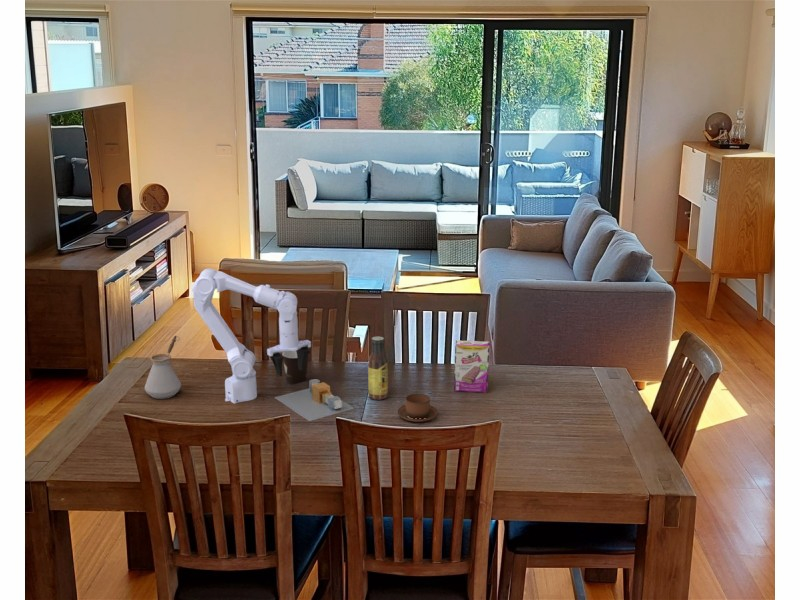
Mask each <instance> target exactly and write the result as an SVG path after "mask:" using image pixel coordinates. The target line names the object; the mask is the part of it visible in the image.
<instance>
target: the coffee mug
mask: <svg viewBox="0 0 800 600" xmlns="http://www.w3.org/2000/svg"><path fill="white" fill-rule="evenodd" d="M281 354H282V355H281V356H282V357H283V361H282V362H283V366H284V367H283V368H284V372H285V379H286V383H287V384H288V385H296V384H301V383H305V382H306V381H307V377H308V376H307V375H308V365H309V363H308V362H309V355H308V356H307V359H306V361H305V365H304V369H303V371H300V370H299V369H298V358H297V352H296V351H288V352H284V353H281Z"/></svg>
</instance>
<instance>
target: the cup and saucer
mask: <svg viewBox="0 0 800 600" xmlns="http://www.w3.org/2000/svg"><path fill="white" fill-rule="evenodd" d="M430 398H431V397H430V396H429V395H427V394H424V393H410V394H408V395H407V396H406V397H405V404H404V405H402V406H400V407H399V408H398V410H397V413H398V416H399V417H400V418H401V419H403V420H406V421H409V422H415V423H417V422H418V423H422V422H427V421H430V420H432V419H434V418H435V417H436V416H437V415H438V409H437V408H436V407H434V406H433V405H432V404H430V402H431V400H430ZM407 416H409V417H410V418H413V419H409V418H408V417H407ZM415 418H417V419H415ZM419 418H421V419H419ZM424 418H426V419H424Z"/></svg>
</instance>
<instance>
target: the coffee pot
mask: <svg viewBox="0 0 800 600" xmlns="http://www.w3.org/2000/svg"><path fill="white" fill-rule="evenodd" d="M172 338H173V339H172V340H171V343H170V344H169V347H168V350H167V352H166V353H158V354H153V355H151V356H150V357H149V360H150V361H151V362H152V365H151V368H150V371H149V373H148V376H147V380H146V382H145V385H144V391H145V392H146V394H147V395H149V396H151V397H152V398H153V399H156V400H157V399H158V400H165V399H170V398H172V397H175V395H176V394H177V393H178V392H179V391H180V390H181V388H182V383H181V381H180V378H179V377H178V375H177V374H176V372H175V370H174V368H173V366H172V365H171V363H170V361H171V360H172V356H171V355H170V353H171V352H172V350H173V348H174V346H175V343H176V341H178V340H180V339H181V338H180V337H179V336H177V335H174V336H173V337H172ZM177 338H178V339H177Z"/></svg>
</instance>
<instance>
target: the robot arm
mask: <svg viewBox="0 0 800 600" xmlns="http://www.w3.org/2000/svg"><path fill="white" fill-rule="evenodd" d="M215 290H216V293H221V292H223V291H226V290H229V291H232V292H236V293H238V294H242V295H245V296H248V297H251V298H253V300H254V302H255V303H257V304H260V305H263V306H265V307H268V308H271V309H274V310H277V311H278V313H279V316H278V327H279V328H278V331H279V333H278V335H279V344H277V345H275V346H274V345H273V346H272V347H269V348H267V349H266V353H267V356H268V357H269V358H270V360H271V361H272V363H273V366H274V368H275V371H276V375H277V376H278V377H282V376H283V362H284V361H283V356H282V355H281V354H283V353H284V352H288V351H296V352H297V358H298V369H299V370H300V371H303V369H304V365H305V361H306V359H307V356H308V357H309V355H310V353H311V350H310V348H311V347H312V341H310V340H309V339H305V340H299V328H298V311H297V306H298V297H297V296H296V295H295V294H294V293H292V292H291V291H285V290H281V291H280V290H277V289H276V288H275V289H274V288H273V287H271V285H270V284H267V283H266V284H265V285H264V284H260V285H259V286H255V285H253V284H250V283H248V282H247V281H244V280H241V279H239V278H236V277H235V276H232V275H229V274H227V273H225V272H224V271H220V270H216V269H213V268H210V267H209V268H205V269H203V270H202V271H201V272H200V274H199V276H198V277H197V278H196V280H195V282H194V284H193V286H192V292H193V295H192V297H193V308H194V309H195V310H196V312H197V313H198V315H199V316H200V318H201V320H202V321H203V322H204V323H205V325H206V326H207V328H208V329H209V331H210V332H211V333H212V335H213V336H214V337H215V339H216V341H217V342H218V344H219V345H220V346H221V347H222V349H223V350H224V352H225V353H226V357H227V361H228V363H229V364H230V366H231V372H232V375H231V376H229V377H227V378H226V379H225V380H224V392H225V398H224V401H225V402H230V403H233V404H238V403H242V402H248V401H252V400H255V399H256V398H258V397H257V396H258V391H257V389H258V388H257V371H256V370H255V369H254V365H255V363H256V355H255V354H254V352H252V351H251V350H249V349H248V348H247V347H246V346H245V344H242V343H241V342H240V341H239V340H238V339H237V336H235V334H234V332H233V331H232V329H231V328H230V327H229V325H228V324H227V323H226V321H225V320H224V318H223V317H222V315H221V314H220V312H219V311H218V309H217V308H216V307H215V305H214V304H213V297H214V292H215Z"/></svg>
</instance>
